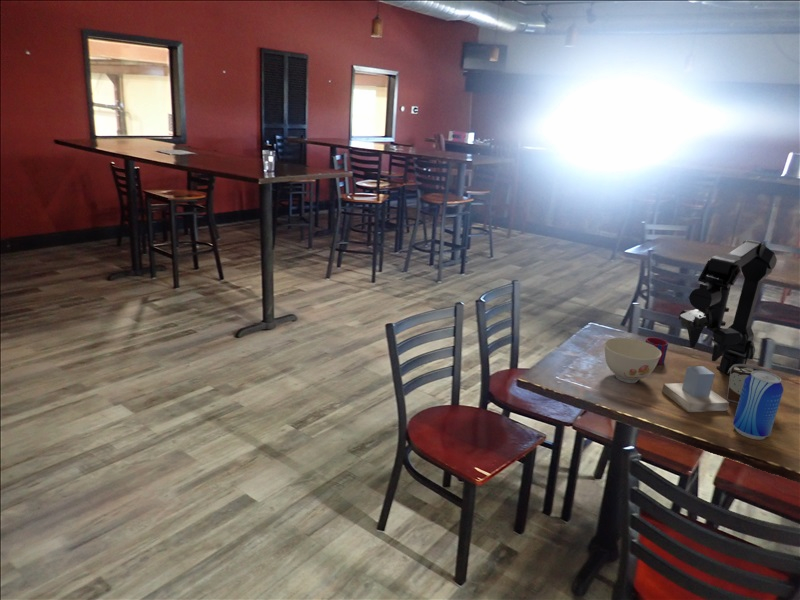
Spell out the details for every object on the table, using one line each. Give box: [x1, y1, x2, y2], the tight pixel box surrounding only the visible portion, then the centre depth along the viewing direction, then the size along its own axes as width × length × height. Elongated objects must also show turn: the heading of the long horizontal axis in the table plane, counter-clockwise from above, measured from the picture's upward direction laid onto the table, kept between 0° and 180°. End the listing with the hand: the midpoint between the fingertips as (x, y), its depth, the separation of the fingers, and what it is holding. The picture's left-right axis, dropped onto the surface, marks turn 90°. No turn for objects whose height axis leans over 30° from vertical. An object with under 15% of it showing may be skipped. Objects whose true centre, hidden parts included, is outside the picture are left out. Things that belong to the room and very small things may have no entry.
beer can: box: [732, 371, 784, 441], centre depth 147 cm, size 8×8×16 cm
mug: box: [645, 336, 669, 366], centre depth 191 cm, size 7×10×7 cm
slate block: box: [682, 365, 716, 397], centre depth 163 cm, size 5×5×7 cm
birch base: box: [661, 382, 730, 413], centre depth 164 cm, size 12×12×2 cm
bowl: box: [603, 337, 661, 384], centre depth 175 cm, size 16×16×10 cm
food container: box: [726, 363, 775, 404], centre depth 165 cm, size 12×6×10 cm, turn 59°
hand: (702, 353), depth 165 cm, fingers open, 9 cm apart
